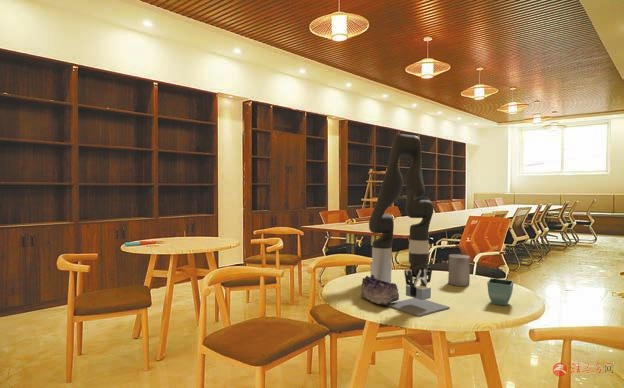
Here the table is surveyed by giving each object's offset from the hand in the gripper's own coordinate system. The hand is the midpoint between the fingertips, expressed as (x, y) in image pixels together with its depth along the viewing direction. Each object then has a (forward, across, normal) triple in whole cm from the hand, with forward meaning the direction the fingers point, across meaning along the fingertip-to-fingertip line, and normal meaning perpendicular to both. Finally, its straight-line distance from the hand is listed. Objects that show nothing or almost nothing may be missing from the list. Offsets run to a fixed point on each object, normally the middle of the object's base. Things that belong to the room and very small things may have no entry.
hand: (418, 294), depth 156 cm
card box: (+1, 0, 0) cm, 1 cm away
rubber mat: (+5, 0, 0) cm, 5 cm away
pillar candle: (+5, -46, -14) cm, 48 cm away
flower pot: (+5, -32, +15) cm, 36 cm away
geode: (+5, +8, -15) cm, 17 cm away
